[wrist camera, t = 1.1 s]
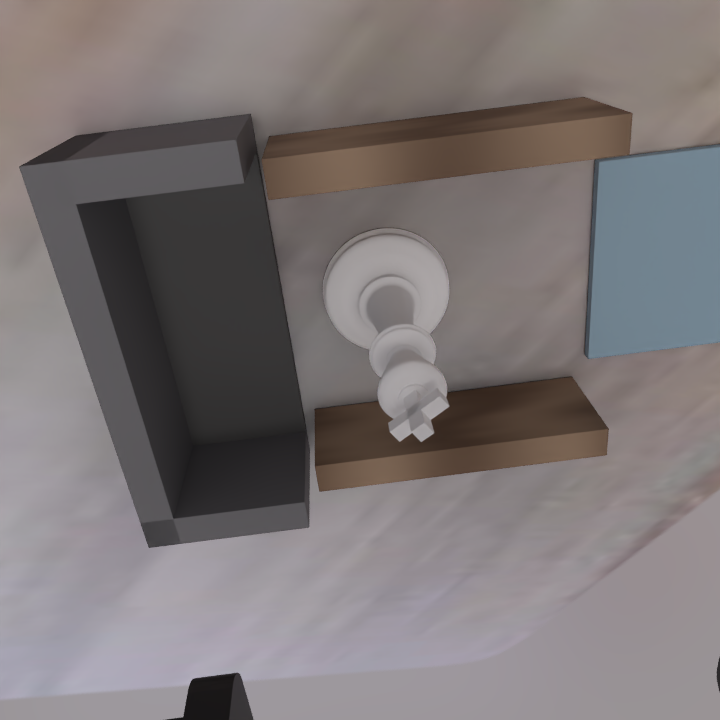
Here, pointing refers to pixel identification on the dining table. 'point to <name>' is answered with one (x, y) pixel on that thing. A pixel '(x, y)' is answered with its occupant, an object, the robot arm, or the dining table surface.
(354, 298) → the chess piece
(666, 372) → the dining table surface
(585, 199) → the dining table surface
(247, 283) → the grey channel bracket
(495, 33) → the dining table surface
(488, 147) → the wooden blocks
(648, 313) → the pad
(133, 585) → the dining table surface
